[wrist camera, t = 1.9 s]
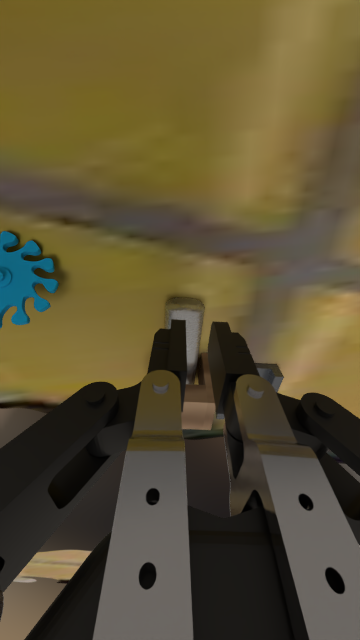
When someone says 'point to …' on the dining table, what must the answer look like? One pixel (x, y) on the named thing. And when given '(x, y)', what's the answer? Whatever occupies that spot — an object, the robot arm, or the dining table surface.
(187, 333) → the axle
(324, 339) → the dining table surface
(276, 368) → the v block
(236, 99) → the dining table surface
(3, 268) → the gear
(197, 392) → the brown block
